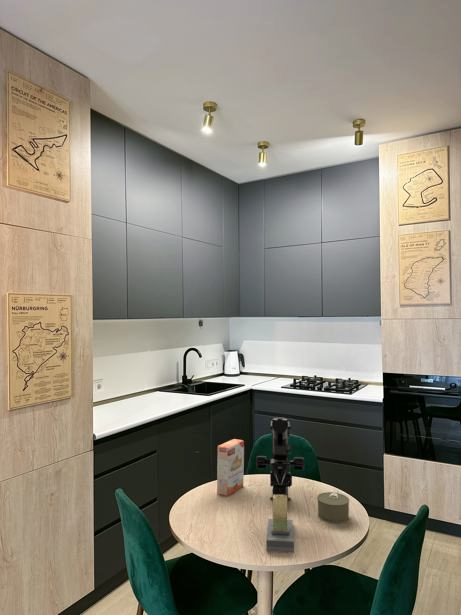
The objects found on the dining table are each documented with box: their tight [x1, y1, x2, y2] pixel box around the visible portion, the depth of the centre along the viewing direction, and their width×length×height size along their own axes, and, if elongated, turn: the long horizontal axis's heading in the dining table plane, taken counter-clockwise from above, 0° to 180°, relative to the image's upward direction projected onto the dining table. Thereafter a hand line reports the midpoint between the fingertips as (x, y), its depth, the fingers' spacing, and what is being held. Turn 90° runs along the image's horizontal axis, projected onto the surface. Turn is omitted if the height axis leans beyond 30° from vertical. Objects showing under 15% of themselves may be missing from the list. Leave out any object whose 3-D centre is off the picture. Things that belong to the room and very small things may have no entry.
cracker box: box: [216, 438, 245, 497], centre depth 195 cm, size 14×6×21 cm, turn 148°
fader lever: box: [272, 494, 289, 535], centre depth 153 cm, size 5×6×12 cm
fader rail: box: [265, 518, 295, 554], centre depth 153 cm, size 20×9×4 cm, turn 173°
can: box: [316, 491, 350, 524], centre depth 169 cm, size 12×12×7 cm
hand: (280, 484), depth 165 cm, fingers closed
